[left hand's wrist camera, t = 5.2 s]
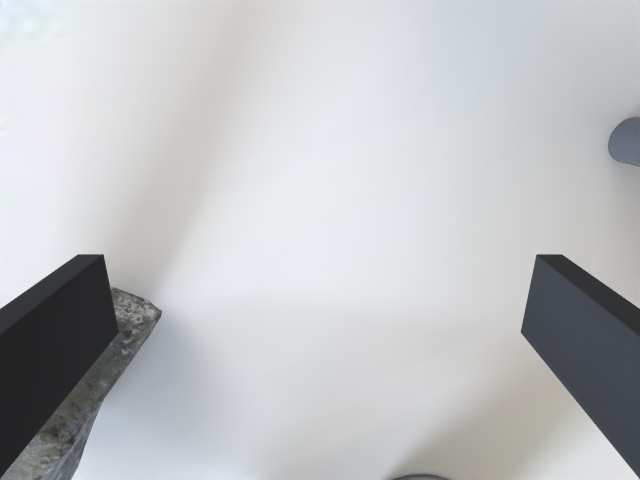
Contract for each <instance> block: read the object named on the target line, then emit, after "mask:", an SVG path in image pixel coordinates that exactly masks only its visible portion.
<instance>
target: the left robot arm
mask: <svg viewBox="0 0 640 480" xmlns="http://www.w3.org/2000/svg"><path fill="white" fill-rule="evenodd" d="M118 333H119V329H118V324H117V319H116V314H115V309H114V304H113V299H112V294H111V289H110V285H109V280H108V275H107V270H106V265H105V260H104V255H77V256H75V257H74V258H72V259H71V260H70V261H68V262H67V263H65V264H64V265H62V266H61V267H60V268H58V269H57V270H55V271H54V272H52V273H51V274H50V275H48V276H47V277H45V278H44V279H42V280H41V281H40V282H38V283H37V284H35V285H34V286H32V287H31V288H30V289H28V290H27V291H25V292H24V293H22V294H21V295H20V296H18V297H17V298H15V299H14V300H12V301H11V302H10V303H8V304H7V305H5V306H4V307H2V308H1V309H0V479H1V477H2V476H3V475H4V474H5V472H6V471H7V470H8V469H9V467H10V466H11V465H12V464H13V463H14V461H15V460H16V459H17V458H18V456H19V455H20V454H21V453H22V451H23V450H24V449H25V448H26V447H27V445H28V444H29V443H30V442H31V440H32V439H33V438H34V437H35V435H36V434H37V433H38V432H39V431H40V429H41V428H42V427H43V426H44V424H45V423H46V422H47V421H48V419H49V418H50V417H51V416H52V415H53V413H54V412H55V411H56V410H57V408H58V407H59V406H60V405H61V403H62V402H63V401H64V400H65V399H66V397H67V396H68V395H69V394H70V392H71V391H72V390H73V389H74V387H75V386H76V385H77V384H78V382H79V381H80V380H81V379H82V378H83V376H84V375H85V374H86V373H87V371H88V370H89V369H90V368H91V366H92V365H93V364H94V363H95V362H96V360H97V359H98V358H99V357H100V355H101V354H102V353H103V352H104V350H105V349H106V348H107V347H108V346H109V344H110V343H111V342H112V341H113V339H114V338H115V337H116V336H117V334H118ZM521 333H522V334H523V336H524V337H525V338H526V339H527V341H528V342H529V343H530V344H531V346H532V347H533V348H534V349H535V350H536V352H537V353H538V354H539V355H540V357H541V358H542V359H543V360H544V362H545V363H546V364H547V365H548V366H549V368H550V369H551V370H552V371H553V373H554V374H555V375H556V376H557V378H558V379H559V380H560V381H561V382H562V384H563V385H564V386H565V387H566V389H567V390H568V391H569V392H570V394H571V395H572V396H573V397H574V399H575V400H576V401H577V402H578V403H579V405H580V406H581V407H582V408H583V410H584V411H585V412H586V413H587V415H588V416H589V417H590V418H591V419H592V421H593V422H594V423H595V424H596V426H597V427H598V428H599V429H600V431H601V432H602V433H603V434H604V435H605V437H606V438H607V439H608V440H609V442H610V443H611V444H612V445H613V447H614V448H615V449H616V450H617V451H618V453H619V454H620V455H621V456H622V458H623V459H624V460H625V461H626V463H627V464H628V465H629V466H630V467H631V469H632V470H633V471H634V472H635V474H636V475H637V476H638V477H639V479H640V309H639V308H638V307H636V306H635V305H633V304H632V303H630V302H629V301H628V300H626V299H625V298H623V297H622V296H620V295H619V294H618V293H616V292H615V291H613V290H612V289H610V288H609V287H608V286H606V285H605V284H603V283H602V282H600V281H599V280H598V279H596V278H595V277H593V276H592V275H590V274H589V273H588V272H586V271H585V270H583V269H582V268H580V267H579V266H578V265H576V264H575V263H573V262H572V261H570V260H569V259H568V258H566V257H565V256H563V255H536V260H535V265H534V270H533V275H532V280H531V285H530V289H529V294H528V299H527V304H526V309H525V314H524V319H523V324H522V329H521ZM396 480H447V479H444V478H441V477H436V476H429V475H415V476H408V477H403V478H399V479H396Z"/></svg>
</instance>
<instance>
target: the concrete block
mask: <svg viewBox="0 0 640 480" xmlns="http://www.w3.org/2000/svg"><path fill="white" fill-rule="evenodd" d="M110 289H111V294H112V299H113V304H114V309H115V314H116V319H117V324H118V329H119V333H118V334H117V336H116V337H115V338H114V339H113V341H112V342H111V343H110V344H109V346H108V347H107V348H106V349H105V350H104V352H103V353H102V354H101V355H100V357H99V358H98V359H97V360H96V362H95V363H94V364H93V365H92V366H91V368H90V369H89V370H88V371H87V373H86V374H85V375H84V376H83V378H82V379H81V380H80V381H79V382H78V384H77V385H76V386H75V387H74V389H73V390H72V391H71V392H70V394H69V395H68V396H67V397H66V399H65V400H64V401H63V402H62V403H61V405H60V406H59V407H58V408H57V410H56V411H55V412H54V413H53V415H52V416H51V417H50V418H49V419H48V421H47V422H46V423H45V424H44V426H43V427H42V428H41V429H40V431H39V432H38V433H37V434H36V435H35V437H34V438H33V439H32V440H31V442H30V443H29V444H28V445H27V447H26V448H25V449H24V450H23V451H22V453H21V454H20V455H19V456H18V458H17V459H16V460H15V461H14V463H13V464H12V465H11V466H10V467H9V469H8V470H7V471H6V472H5V474H4V475H3V476H2V477H1V479H0V480H71V479H72V477H73V475H74V473H75V471H76V470H77V468H78V465H79V462H80V459H81V457H82V454H83V450H84V447H85V444H86V442H87V439H88V436H89V433H90V431H91V428H92V425H93V422H94V420H95V418H96V416H97V413H98V411H99V409H100V407H101V404H102V402H103V400H104V398H105V397H106V395H107V394H108V392H109V391H110V390H111V388H112V387H113V386H114V384H115V383H116V381H117V380H118V379H119V377H120V376H121V375H122V373H123V372H124V370H125V369H126V368H127V366H128V365H129V363H130V362H131V361H132V359H133V358H134V356H135V355H136V354H137V352H138V351H139V349H140V348H141V346H142V345H143V343H144V342H145V340H146V339H147V338H148V337H149V335H150V334H151V332H152V330H153V328H154V327H155V325H156V324H157V322H158V320H159V319H160V317H161V314H162V311H161V310H160V309H158V308H157V307H155V306H154V305H153V304H152V303H151V302H150V301H148V300H146V299H143V298H141V297H138V296H135V295H132V294H129V293H127V292H124V291H122V290H119V289H116V288H114V287H110Z"/></svg>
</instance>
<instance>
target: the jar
mask: <svg viewBox="0 0 640 480" xmlns="http://www.w3.org/2000/svg"><path fill="white" fill-rule="evenodd" d="M609 151H610V154H611V155H612V157H613V158H614V159H616V160H617V161H620V162H624V163H628V164H632V165H635V166H639V167H640V117H634V118H630V119H627V120H625V121H624V122H622V123H621V124H619V125H618V126H617V127H616V128H615V130H614V131H613V133H612V134H611V136H610V139H609Z"/></svg>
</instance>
